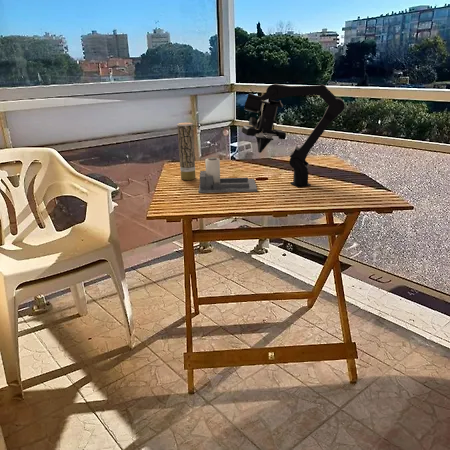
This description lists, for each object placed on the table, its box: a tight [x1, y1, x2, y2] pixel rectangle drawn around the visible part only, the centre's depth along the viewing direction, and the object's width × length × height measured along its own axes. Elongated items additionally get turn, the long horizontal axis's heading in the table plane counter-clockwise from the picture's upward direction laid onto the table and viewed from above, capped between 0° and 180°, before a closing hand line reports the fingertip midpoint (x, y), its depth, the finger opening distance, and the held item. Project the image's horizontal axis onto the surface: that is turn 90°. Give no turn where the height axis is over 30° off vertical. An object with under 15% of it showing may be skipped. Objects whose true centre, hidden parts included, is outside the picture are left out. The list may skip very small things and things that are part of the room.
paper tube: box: [176, 122, 197, 181], centre depth 179 cm, size 7×7×25 cm
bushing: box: [204, 156, 221, 184], centre depth 168 cm, size 6×6×11 cm
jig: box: [198, 170, 258, 194], centre depth 170 cm, size 24×16×6 cm, turn 91°
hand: (259, 152), depth 170 cm, fingers closed
